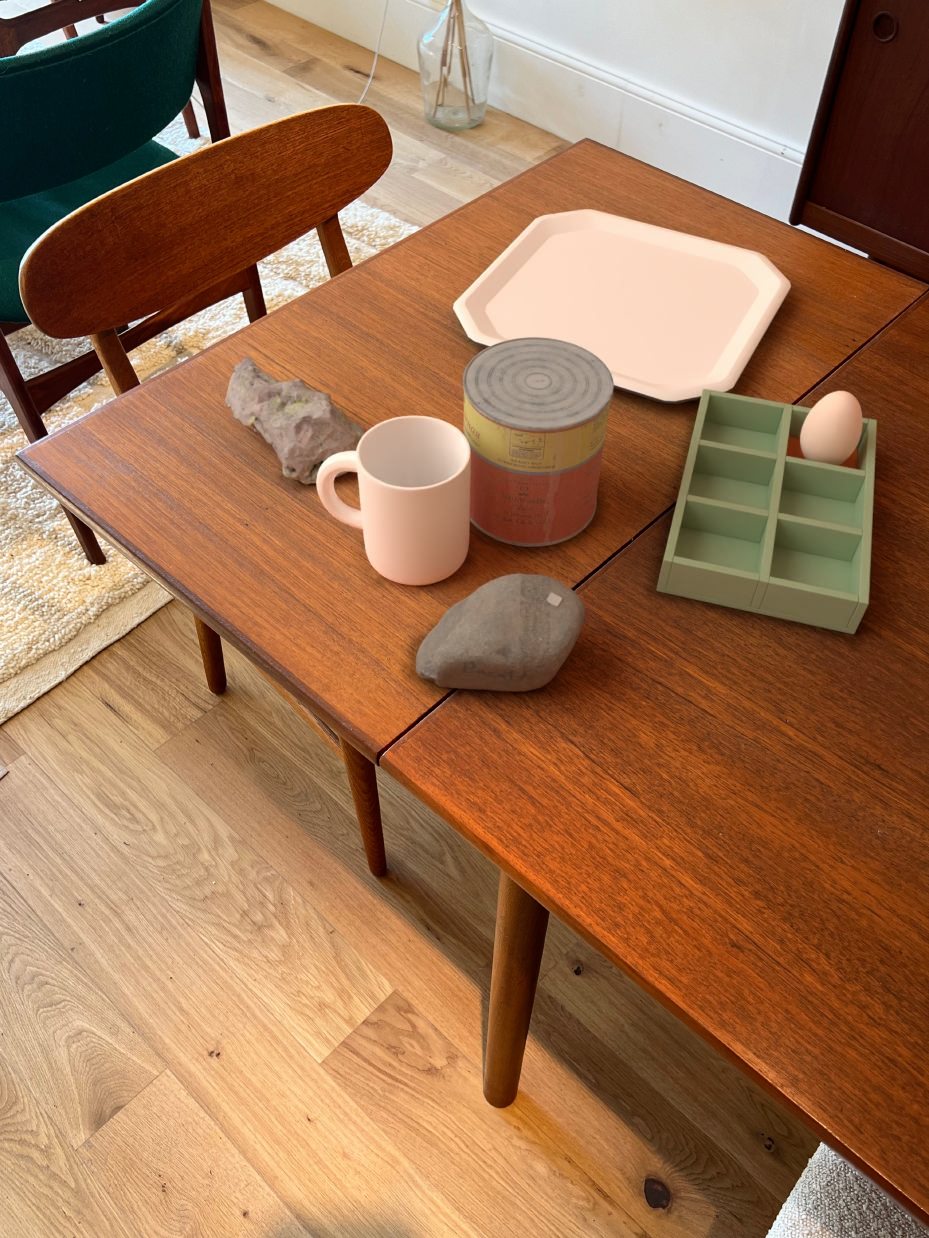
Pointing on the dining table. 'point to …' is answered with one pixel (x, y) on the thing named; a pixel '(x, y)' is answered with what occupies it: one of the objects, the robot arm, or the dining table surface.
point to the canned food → (535, 438)
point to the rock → (291, 420)
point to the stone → (504, 635)
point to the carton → (771, 517)
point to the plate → (630, 301)
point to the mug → (407, 497)
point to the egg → (832, 429)
